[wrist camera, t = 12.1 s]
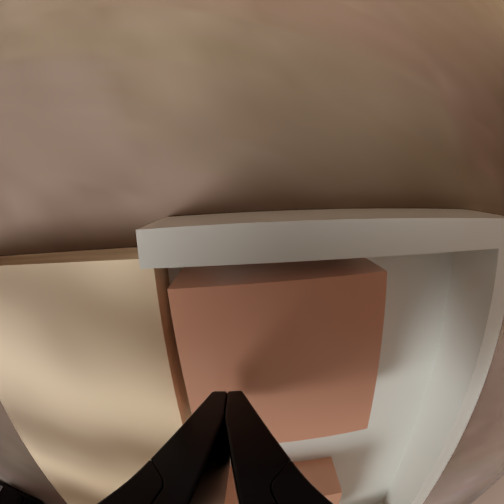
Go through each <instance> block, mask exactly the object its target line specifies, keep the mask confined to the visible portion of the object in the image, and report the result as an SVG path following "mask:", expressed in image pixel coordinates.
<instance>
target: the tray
mask: <svg viewBox="0 0 504 504" xmlns="http://www.w3.org/2000/svg"><path fill="white" fill-rule="evenodd" d="M136 238H137V248H138V256H139V265H140V269H152V268H168V274H169V282H170V285H171V283H172V282H173V280H174V279H175V278H176V276H177V275H178V273H179V272H180V271H181V269H182V268H183V267H198V266H220V265H240V264H260V263H279V262H298V261H316V260H333V259H350V258H367V259H368V260H370V261H372V262H373V263H375V264H377V265H378V266H380V267H381V268H383V269H385V270H386V271H387V287H386V302H385V314H384V325H383V334H382V343H381V351H380V359H379V366H378V373H377V379H376V385H375V391H374V397H373V402H372V408H371V413H370V418H369V423H368V427H367V429H363V430H358V431H353V432H348V433H343V434H338V435H332V436H327V437H321V438H314V439H307V440H300V441H292V442H283V443H279V444H280V446H281V447H282V448H283V450H284V451H285V452H286V454H287V455H288V456H289V458H290V459H291V461H293V462H298V461H306V460H313V459H320V458H326V457H332V461H333V464H334V467H335V470H336V473H337V477H338V480H339V483H340V486H341V490H342V495H341V498H340V502H339V504H423V502H424V501H425V499H426V498H427V496H428V495H429V493H430V492H431V490H432V488H433V487H434V485H435V484H436V482H437V480H438V479H439V477H440V475H441V474H442V472H443V470H444V469H445V467H446V465H447V463H448V461H449V460H450V458H451V456H452V454H453V452H454V450H455V448H456V446H457V444H458V442H459V440H460V438H461V436H462V434H463V432H464V430H465V428H466V426H467V424H468V421H469V419H470V417H471V415H472V412H473V410H474V408H475V405H476V403H477V400H478V398H479V395H480V393H481V390H482V387H483V385H484V382H485V379H486V376H487V373H488V370H489V367H490V364H491V361H492V358H493V355H494V351H495V348H496V344H497V341H498V337H499V333H500V330H501V326H502V321H503V317H504V216H501V215H496V214H490V213H485V212H479V211H473V210H467V209H425V208H369V209H315V210H284V211H259V212H239V213H220V214H203V215H188V216H173V217H165V218H162V219H160V220H158V221H155V222H153V223H151V224H148V225H146V226H143V227H141V228H139V229H136ZM188 400H189V399H188ZM189 405H190V404H189ZM190 410H191V408H190ZM191 415H192V412H191ZM230 466H231V460H230Z"/></svg>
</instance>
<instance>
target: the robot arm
mask: <svg viewBox="0 0 504 504" xmlns="http://www.w3.org/2000/svg"><path fill="white" fill-rule="evenodd" d="M230 460H231V466H232V472H233V478H234V484H235V489H236V495H237V500H238V504H333V503H332V502H331V501H329V500H328V499H327V498H326V497H325V496H324V495H323V494H321V493H320V492H319V491H318V490H317V489H316V488H315V487H314V486H313V485H312V484H311V483H310V482H309V481H308V480H307V479H306V477H305V476H304V475H303V474H302V473H301V472H300V470H299V469H298V468H297V467H296V465H295V464H294V463H293V461H291V459H290V458H289V456H288V455H287V454H286V452H285V451H284V450H283V448H282V447H281V446H280V444H279V443H278V441H277V440H276V439H275V437H274V436H273V435H272V433H271V432H270V430H269V429H268V428H267V426H266V425H265V423H264V422H263V421H262V419H261V418H260V416H259V415H258V413H257V412H256V411H255V409H254V408H253V406H252V405H251V403H250V402H249V400H248V399H247V397H246V396H245V394H244V393H243V392H242V391H229V392H228V393H227V392H226V391H213V392H212V393H211V394H210V395H209V396H208V397H207V398H206V399H205V400H204V402H203V403H202V404H201V405H200V406H199V407H198V408H197V409H196V411H195V412H194V413H193V414H192V415H191V416H190V417H189V418H188V419H187V421H186V422H185V423H184V424H183V425H182V426H181V427H180V428H179V429H178V430H177V431H176V432H175V434H174V435H173V436H172V437H171V438H170V439H169V440H168V441H167V442H166V443H165V444H164V445H163V446H162V447H161V448H160V449H159V451H158V452H157V453H156V454H155V455H154V456H153V457H152V458H151V460H149V461H148V462H147V463H146V464H145V465H144V466H143V467H142V468H141V469H140V470H139V471H138V472H137V473H136V474H134V475H133V476H132V477H131V478H130V479H129V480H128V481H127V482H125V483H124V484H123V485H122V486H120V487H119V488H118V489H117V490H115V491H114V492H112V493H111V494H110V495H108V496H107V497H106V498H104V499H103V500H101V501H100V502H99V503H97V504H224V503H225V496H226V489H227V482H228V474H229V467H230ZM0 490H1V491H0V504H43V503H42V502H40V501H39V500H37V499H35V498H33V497H30V496H28V495H26V494H24V493H22V492H19V491H17V490H15V489H13V488H11V487H9V486H7V485H5V484H3V483H1V482H0Z"/></svg>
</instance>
